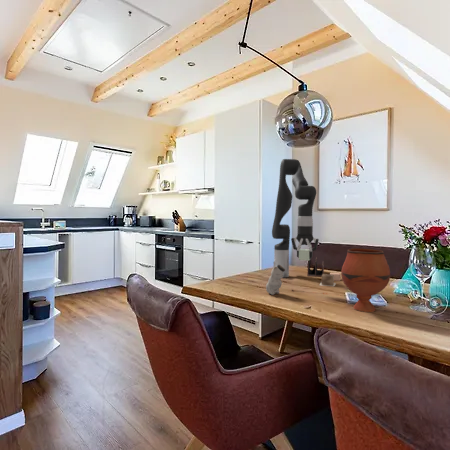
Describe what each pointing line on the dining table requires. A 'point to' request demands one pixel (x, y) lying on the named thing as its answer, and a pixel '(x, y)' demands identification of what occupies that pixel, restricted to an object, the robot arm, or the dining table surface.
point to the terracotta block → (336, 276)
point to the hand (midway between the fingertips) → (304, 258)
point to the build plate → (327, 285)
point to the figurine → (275, 280)
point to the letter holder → (315, 270)
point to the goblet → (365, 275)
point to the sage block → (304, 254)
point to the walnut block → (327, 279)
